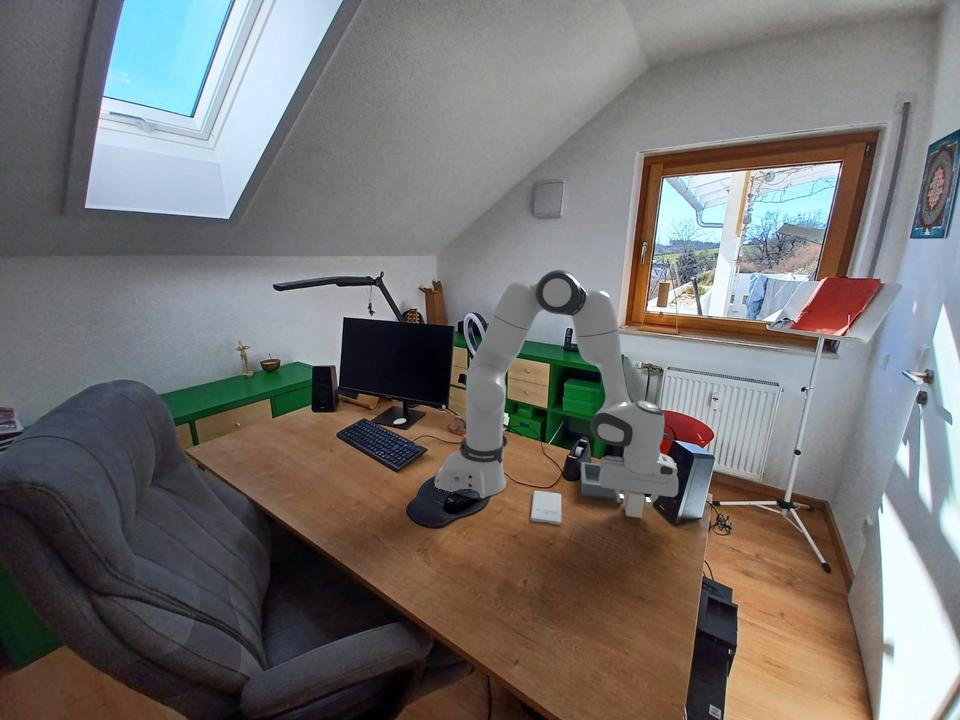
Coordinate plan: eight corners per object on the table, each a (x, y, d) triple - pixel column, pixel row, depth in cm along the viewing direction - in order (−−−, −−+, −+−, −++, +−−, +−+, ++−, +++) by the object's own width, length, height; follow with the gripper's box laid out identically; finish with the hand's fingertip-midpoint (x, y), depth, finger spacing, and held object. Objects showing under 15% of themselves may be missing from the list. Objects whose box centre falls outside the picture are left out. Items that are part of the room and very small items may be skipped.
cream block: (626, 515, 108) (629, 494, 106) (624, 506, 111) (627, 485, 109) (641, 518, 107) (644, 496, 105) (639, 508, 110) (642, 487, 108)
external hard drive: (561, 498, 115) (560, 526, 104) (533, 494, 117) (530, 522, 105) (561, 493, 115) (561, 521, 103) (533, 490, 117) (530, 517, 105)
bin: (581, 496, 116) (582, 483, 114) (580, 473, 127) (581, 461, 125) (623, 502, 113) (625, 488, 112) (618, 478, 124) (620, 466, 123)
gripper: (601, 461, 103) (596, 504, 107) (684, 471, 99) (675, 516, 103) (599, 449, 109) (594, 491, 113) (677, 458, 105) (669, 501, 109)
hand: (633, 503), depth 108 cm, fingers open, 6 cm apart
